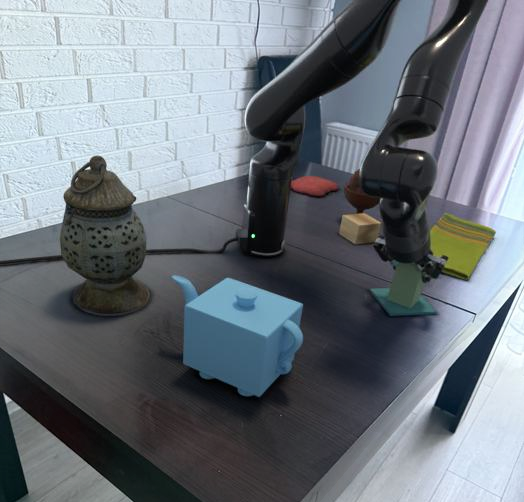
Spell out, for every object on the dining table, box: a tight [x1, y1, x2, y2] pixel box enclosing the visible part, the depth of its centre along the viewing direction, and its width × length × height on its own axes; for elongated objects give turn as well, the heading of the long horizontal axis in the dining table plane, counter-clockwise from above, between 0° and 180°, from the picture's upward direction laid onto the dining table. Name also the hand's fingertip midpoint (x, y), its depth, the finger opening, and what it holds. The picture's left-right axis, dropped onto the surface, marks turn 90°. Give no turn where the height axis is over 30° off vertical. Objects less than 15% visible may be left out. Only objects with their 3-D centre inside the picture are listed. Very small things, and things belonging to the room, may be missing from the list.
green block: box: [387, 262, 425, 308], centre depth 100 cm, size 5×5×9 cm
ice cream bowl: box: [343, 168, 381, 214], centre depth 134 cm, size 11×11×15 cm
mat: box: [369, 287, 437, 317], centre depth 103 cm, size 10×10×1 cm
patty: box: [291, 175, 340, 198], centre depth 161 cm, size 18×14×2 cm
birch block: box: [338, 212, 382, 245], centre depth 128 cm, size 7×7×5 cm
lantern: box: [59, 155, 151, 317], centre depth 85 cm, size 14×14×25 cm
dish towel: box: [430, 212, 497, 281], centre depth 129 cm, size 15×36×3 cm, turn 150°
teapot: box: [171, 274, 304, 398], centre depth 75 cm, size 22×11×14 cm, turn 61°
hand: (413, 274), depth 101 cm, fingers closed on green block, 5 cm apart
